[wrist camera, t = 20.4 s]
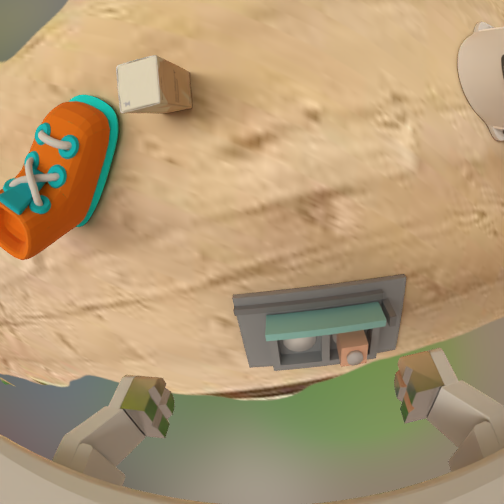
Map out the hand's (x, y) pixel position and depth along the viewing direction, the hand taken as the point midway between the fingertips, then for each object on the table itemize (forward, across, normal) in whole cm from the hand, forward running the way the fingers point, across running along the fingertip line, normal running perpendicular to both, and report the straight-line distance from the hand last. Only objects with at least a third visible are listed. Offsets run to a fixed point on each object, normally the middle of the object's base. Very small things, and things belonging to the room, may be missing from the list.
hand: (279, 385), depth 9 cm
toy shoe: (+30, +27, -9) cm, 42 cm away
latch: (+29, -4, +20) cm, 35 cm away
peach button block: (+29, -8, +25) cm, 39 cm away
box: (+30, +11, -14) cm, 35 cm away
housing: (+30, -4, +24) cm, 39 cm away
